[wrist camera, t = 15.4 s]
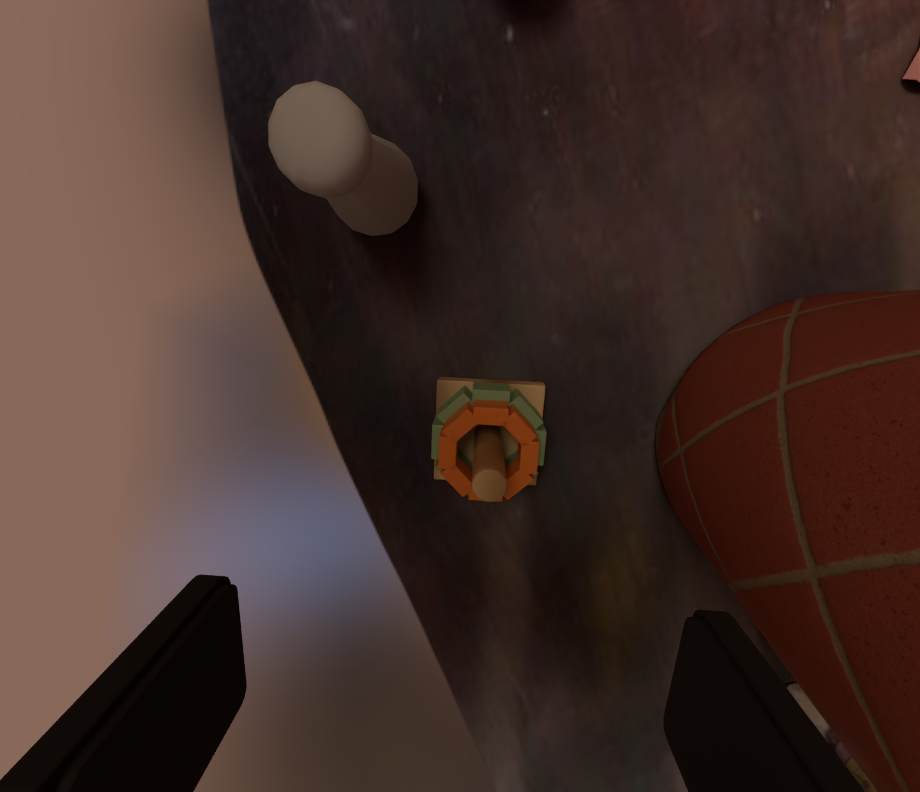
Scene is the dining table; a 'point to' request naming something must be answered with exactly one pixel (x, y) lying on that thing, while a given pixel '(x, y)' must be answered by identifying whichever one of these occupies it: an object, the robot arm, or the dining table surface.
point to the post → (488, 438)
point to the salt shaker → (342, 159)
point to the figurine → (830, 736)
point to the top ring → (497, 416)
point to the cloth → (914, 69)
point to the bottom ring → (488, 393)
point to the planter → (816, 503)
